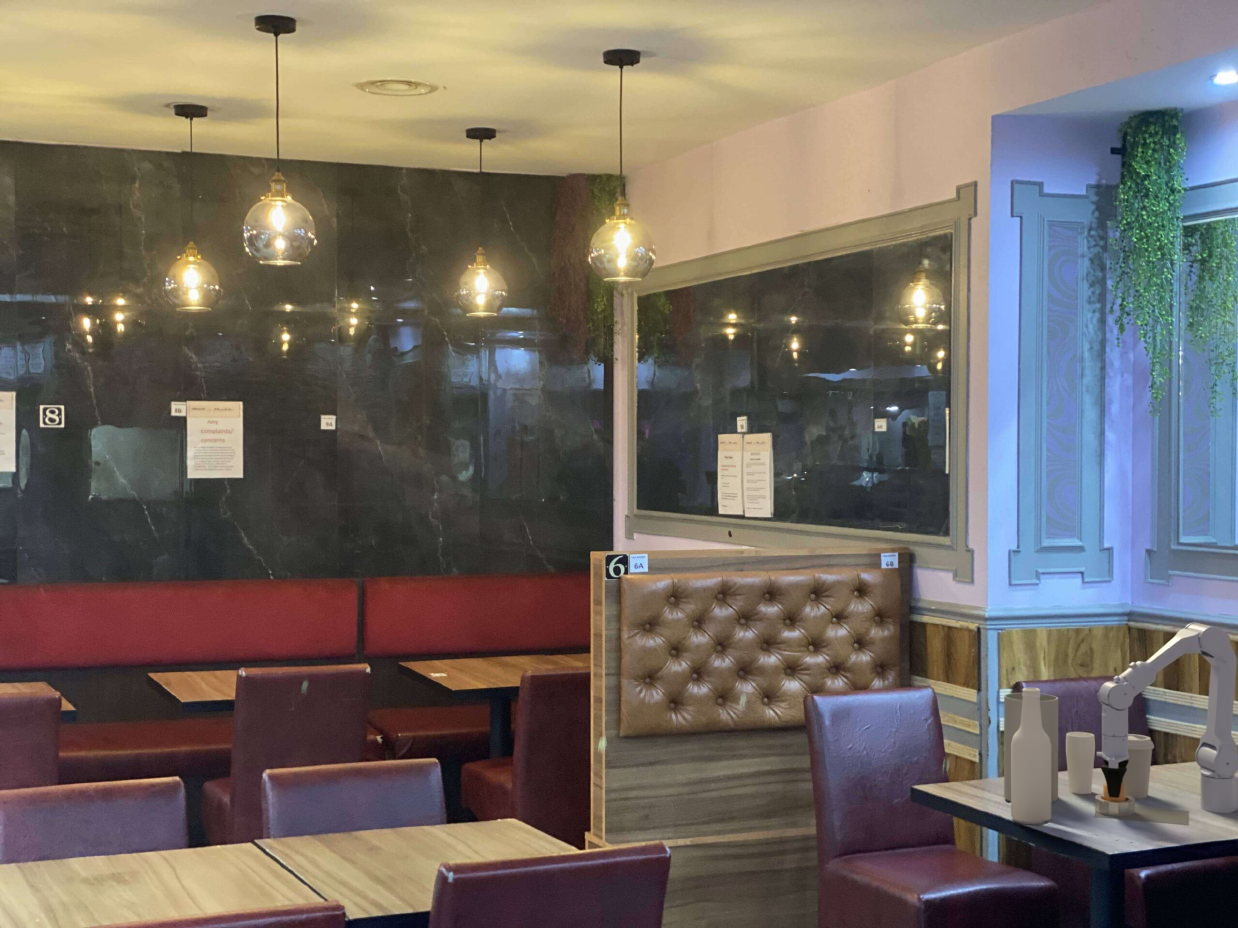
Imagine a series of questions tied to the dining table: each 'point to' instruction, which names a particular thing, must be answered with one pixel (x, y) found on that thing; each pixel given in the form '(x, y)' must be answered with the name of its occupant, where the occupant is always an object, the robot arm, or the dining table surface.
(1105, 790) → the orange block
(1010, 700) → the cylinder vase
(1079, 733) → the drinking glass
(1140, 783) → the coffee cup
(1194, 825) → the dining table surface
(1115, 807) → the beige faceted ring
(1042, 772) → the alcohol
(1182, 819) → the board
